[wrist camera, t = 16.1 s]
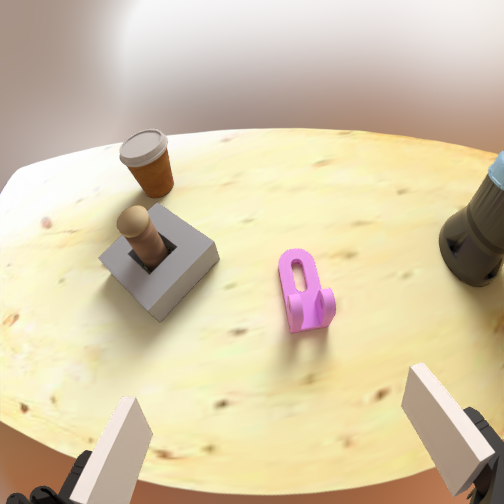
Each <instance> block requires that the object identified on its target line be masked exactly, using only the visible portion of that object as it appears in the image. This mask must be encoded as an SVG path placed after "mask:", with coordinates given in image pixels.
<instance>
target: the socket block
mask: <svg viewBox="0 0 504 504" xmlns="http://www.w3.org/2000/svg"><path fill="white" fill-rule="evenodd" d="M147 212H148V214H149V216H150V219H151V221H152V223H153V225H154V227H155V228H156V230H157V232H158V234H159V236H160V237H161V239H162V241H163V243H164V244H165V246H166V248H168V249H169V250H170V251H171V252H172V253H171V254H170V255H169V256H168V257H167V258H166V259H165V260H164V261H163V262H162V263H161V264H160V265H159V266H158V267H157V268H156V269H155V270H154V271H153V272H152V273H151V274H150V275H149V274H148V273H147V272H146V271H145V270H144V269H143V268H142V266H143V265H144V263H143V262H142V260H141V259H140V258H139V256H138V255H137V254H136V252H135V251H134V249H133V248H132V247H131V245H130V244H129V243H128V241H127V240H126V238H125V237H124V236H123V235H121V236H120V237H119V238H118V239H117V240H116V241H115V242H114V243H113V244H112V245H111V246H110V247H109V248H108V249H107V250H106V251H105V252H104V253H103V254H102V255H101V256H100V257H99V260H100V261H101V262H102V263H103V264H104V265H105V266H106V267H107V269H108V270H109V271H110V272H111V273H112V274H113V275H114V276H115V277H116V279H117V280H118V281H119V282H120V283H121V284H122V285H123V286H124V287H125V288H126V289H127V290H128V291H129V292H130V293H131V295H132V296H133V297H134V298H135V299H136V300H137V301H138V302H139V303H140V304H141V305H142V306H143V307H144V308H145V309H146V310H147V311H148V312H149V313H150V314H151V315H153V316H154V317H155V318H156V319H157V320H158V321H159V322H161V321H162V320H163V319H164V318H165V317H166V316H167V315H168V313H169V312H170V311H171V310H172V309H173V308H174V307H175V306H176V305H177V304H178V303H179V302H180V301H181V300H182V298H183V297H184V296H185V295H186V294H187V293H188V292H189V291H190V290H191V289H192V288H193V287H194V286H195V285H196V284H197V282H198V281H199V280H200V279H201V278H202V277H203V276H204V275H205V274H206V273H207V272H208V271H209V270H210V269H211V268H212V267H213V266H214V264H215V263H216V262H217V261H218V260H219V259H220V258H219V255H218V252H217V249H216V245H215V242H214V241H212V240H211V239H210V238H208V237H207V236H205V235H204V234H202V233H201V232H199V231H198V230H196V229H195V228H194V227H192V226H191V225H189V224H188V223H186V222H185V221H183V220H182V219H180V218H179V217H178V216H176V215H175V214H173V213H172V212H170V211H169V210H167V209H166V208H165V207H163V206H162V205H160V204H159V203H156V204H155V205H153V206H152V207H151V208H150V209H149V210H148V211H147Z"/></svg>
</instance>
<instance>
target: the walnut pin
mask: <svg viewBox="0 0 504 504" xmlns="http://www.w3.org/2000/svg"><path fill="white" fill-rule="evenodd" d="M117 228H118V230H119V231H120V233H121V234H122V235H123V236H124V237H125V238H126V240H127V241H128V243H129V244H130V245H131V247H132V248H133V249H134V251H135V252H136V254H137V255H138V256H139V258H140V259H141V260H142V262H143V263H144V264H145V266H146V267H147V268H148V270H149V271H150V272H151V273H152V272H153V271H154V270H155V269H156V268H157V267H158V266H159V265H160V264H161V263H162V262H163V261H164V260H165V259H166V258H167V257H168V256H169V255H170V253H169V251H168V250H167V248H166V246H165V244H164V243H163V241H162V239H161V237H160V236H159V234H158V232H157V230H156V228H155V227H154V225H153V223H152V221H151V219H150V216H149V214H148V212H147V210H146V209H145V208H144V207H142V206H132V207H129V208H128V209H126V210H125V211H123V212H122V213H121V215H120V216H119V218H118V220H117Z"/></svg>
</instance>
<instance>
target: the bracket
mask: <svg viewBox="0 0 504 504" xmlns="http://www.w3.org/2000/svg"><path fill="white" fill-rule="evenodd" d="M293 263H299V264H301V266H302V269H303V273H304V277H305V281H306V286H307V290H306V291H303V292H301V291H298V290H297V289H296V286H295V282H294V277H293V272H292V268H291V265H292V264H293ZM279 274H280V279H281V284H282V290H283V295H284V300H285V306H286V311H287V316H288V322H289V327H290V333H296V332H301V331H307V330H313V329H318V328H323V327H328V326H329V325H330V323H331V321H332V319H333V318H334V316H335V313H336V304H335V298H334V294H333V292H332V290H331V289H330V288H328V289H321V285H320V281H319V277H318V273H317V269H316V265H315V262H314V259H313V257H312V256H311V255H310V254H309V253H308V252H307V251H305V250H302V249H290V250H288V251H286V252H284V253H283V254H282V256H281V257H280V259H279Z"/></svg>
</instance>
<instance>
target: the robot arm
mask: <svg viewBox="0 0 504 504" xmlns="http://www.w3.org/2000/svg"><path fill="white" fill-rule="evenodd" d="M439 245H440V250H441V253H442V256H443V258H444V260H445V262H446V264H447V265H448V267H449V268H450V270H451V271H452V272H453V273H454V274H455V275H456V276H457V277H458V278H459V279H460V280H462V281H463V282H465V283H467V284H469V285H471V286H475V287H482V286H485V285H487V284H489V283H490V282H491V281H492V280H494V279H495V278H496V277H497V275H498V274H499V272H500V270H501V268H502V266H503V264H504V150H503V151H502V152H501V153H500V154H499V155H498V157H497V158H496V160H495V162H494V163H493V164H492V165H491V166H490V167H489V170H488V174H487V176H486V177H485V179H484V181H483V182H482V184H481V185H480V187H479V189H478V190H477V192H476V193H475V195H474V196H473V198H472V200H471V201H470V203H469V204H468V205H467V206H466V207H465V208H463V209H461V210H460V211H458V212H457V213H455V214H454V215H452V216H451V217H450V218H449V219H448V220H447V221H446V222H445V224H444V225H443V227H442V229H441V231H440V235H439ZM401 407H402V409H403V410H404V412H405V414H406V415H407V417H408V419H409V420H410V422H411V424H412V425H413V427H414V429H415V430H416V432H417V434H418V435H419V437H420V439H421V441H422V442H423V444H424V446H425V448H426V449H427V451H428V453H429V455H430V456H431V458H432V460H433V462H434V463H435V465H436V467H437V469H438V471H439V472H440V474H441V476H442V478H443V480H444V482H445V483H446V485H447V487H448V489H449V491H450V493H451V495H452V497H455V496H457V495H459V494H460V493H462V492H464V491H466V490H467V489H468V488H469V487H470V485H472V483H474V485H475V486H476V487H475V488H474V489H473V490H472V491H471V493H470V494H469V495H468V497H467V499H469V498H470V497H471V496H472V498H471V501H470V504H504V442H503V441H502V440H501V438H500V437H499V436H498V435H497V433H496V432H495V431H494V430H493V428H492V427H491V426H489V423H488V422H487V421H486V420H484V417H483V416H482V415H481V414H480V413H479V411H477V410H475V409H473V408H471V407H468V408H466V409H464V410H462V409H461V407H460V406H459V405H458V404H457V402H456V401H455V400H454V399H453V397H452V396H451V395H450V394H449V393H448V391H447V390H446V389H445V388H444V387H443V385H442V384H441V383H440V382H439V381H438V379H437V378H436V377H435V376H434V375H433V374H432V372H431V371H430V370H429V369H428V368H427V367H426V365H425V364H424V363H423V362H422V363H418V364H415V365H412V366H410V368H409V373H408V378H407V383H406V387H405V392H404V396H403V400H402V404H401ZM152 435H153V433H152V431H151V429H150V427H149V425H148V423H147V421H146V418H145V416H144V414H143V412H142V410H141V408H140V405H139V403H138V401H137V399H136V397H127V396H122V398H121V400H120V401H119V403H118V405H117V407H116V409H115V411H114V412H113V414H112V416H111V418H110V420H109V422H108V424H107V425H106V427H105V429H104V431H103V433H102V435H101V437H100V439H99V441H98V442H97V444H96V446H95V448H94V450H93V452H92V451H88V450H85V451H84V452H83V453H82V454H81V455H79V456H78V458H77V460H76V462H75V463H74V467H72V469H71V473H69V475H68V477H67V478H66V480H65V482H64V484H63V486H62V488H61V490H60V492H59V494H58V495H57V494H56V493H55V492H54V491H53V490H52V489H51V488H49V487H47V486H39V487H37V488H35V489H34V490H33V491H32V492H31V494H30V500H28V499H27V498H26V497H25V496H24V495H23V494H21V493H13V494H11V495H10V496H9V497H8V499H7V502H6V504H129V503H130V500H131V496H132V493H133V490H134V487H135V485H136V482H137V479H138V476H139V473H140V470H141V467H142V464H143V461H144V458H145V455H146V452H147V450H148V447H149V444H150V441H151V438H152Z"/></svg>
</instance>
